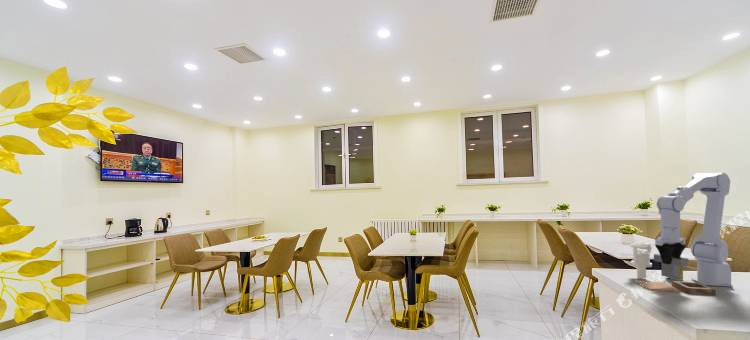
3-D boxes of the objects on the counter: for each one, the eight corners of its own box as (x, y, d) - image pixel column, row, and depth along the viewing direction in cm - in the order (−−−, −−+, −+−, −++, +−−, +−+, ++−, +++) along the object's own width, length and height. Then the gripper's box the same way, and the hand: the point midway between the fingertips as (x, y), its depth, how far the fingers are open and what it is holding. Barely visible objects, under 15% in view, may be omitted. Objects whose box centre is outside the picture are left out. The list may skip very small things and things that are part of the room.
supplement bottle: (686, 281, 144) (686, 257, 145) (671, 280, 146) (670, 256, 146) (677, 277, 150) (677, 254, 150) (663, 276, 151) (663, 253, 151)
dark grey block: (688, 278, 131) (688, 258, 132) (680, 280, 130) (680, 259, 130) (661, 272, 140) (661, 253, 140) (653, 273, 138) (653, 254, 138)
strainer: (643, 281, 144) (642, 244, 144) (626, 276, 151) (626, 241, 151) (656, 280, 145) (656, 243, 146) (640, 275, 152) (639, 240, 153)
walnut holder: (698, 287, 136) (698, 282, 136) (716, 295, 127) (716, 289, 127) (671, 286, 138) (671, 280, 138) (687, 293, 129) (687, 287, 129)
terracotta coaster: (663, 283, 140) (663, 282, 140) (680, 291, 131) (680, 290, 131) (635, 282, 142) (635, 280, 142) (649, 290, 132) (649, 288, 132)
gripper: (670, 225, 142) (670, 259, 141) (646, 226, 136) (646, 262, 136) (691, 227, 135) (691, 263, 135) (667, 229, 130) (667, 266, 130)
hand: (670, 263), depth 135 cm, fingers closed on dark grey block, 4 cm apart
